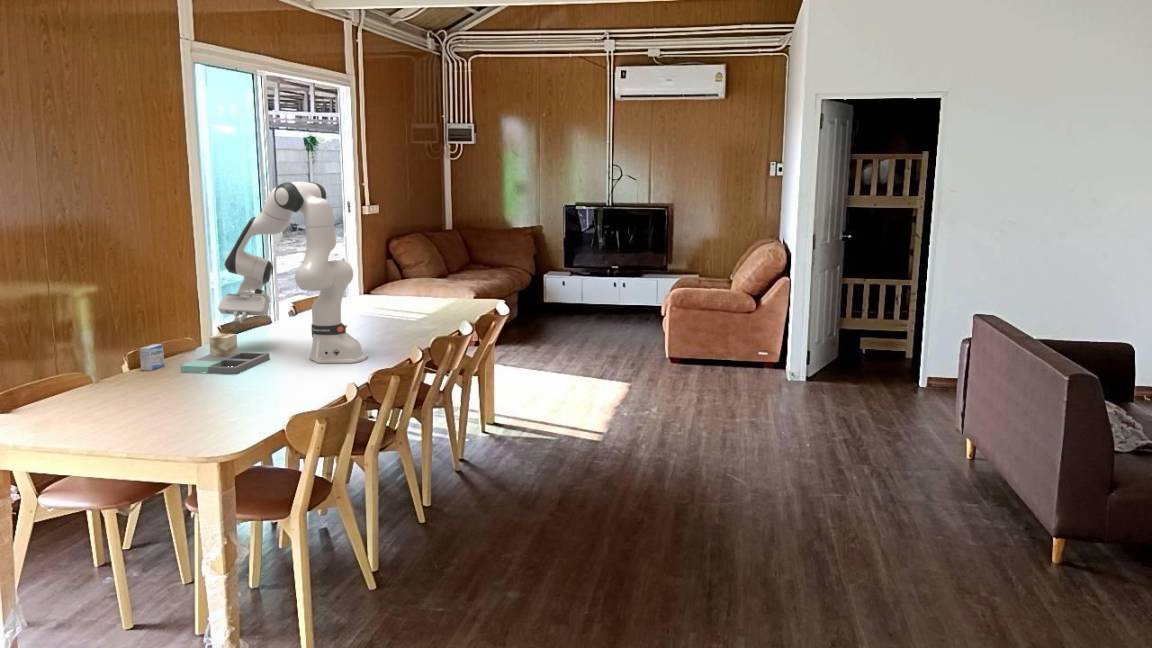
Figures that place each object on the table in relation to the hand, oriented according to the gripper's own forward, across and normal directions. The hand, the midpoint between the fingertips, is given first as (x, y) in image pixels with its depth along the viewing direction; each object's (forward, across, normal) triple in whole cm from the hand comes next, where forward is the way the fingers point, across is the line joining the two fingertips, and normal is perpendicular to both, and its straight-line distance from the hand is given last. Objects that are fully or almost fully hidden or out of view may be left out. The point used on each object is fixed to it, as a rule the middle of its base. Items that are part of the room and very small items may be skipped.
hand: (237, 322), depth 360 cm
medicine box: (+30, -19, -11) cm, 37 cm away
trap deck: (+23, +6, -5) cm, 25 cm away
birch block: (+16, 0, -1) cm, 16 cm away
